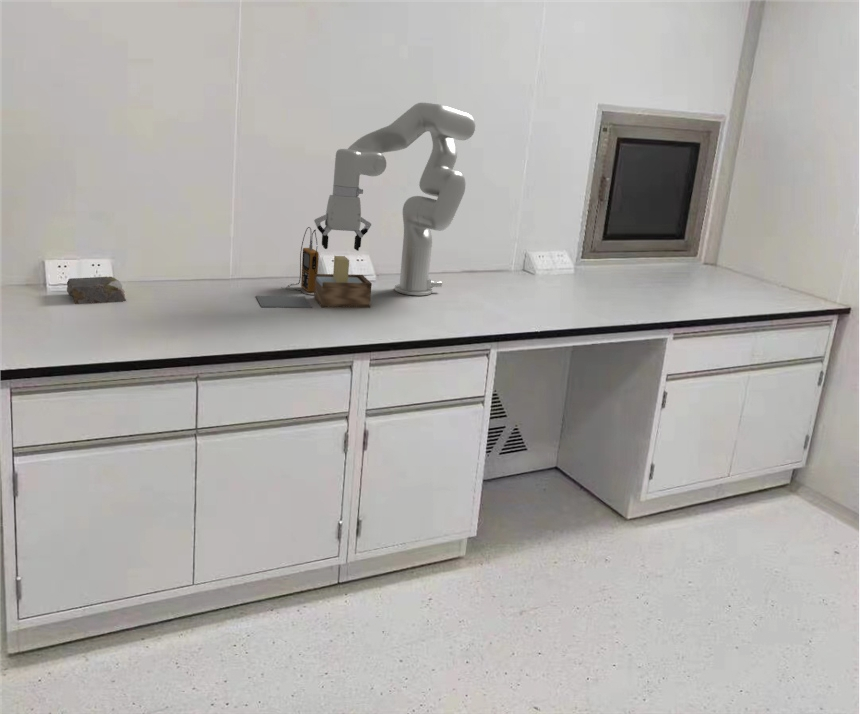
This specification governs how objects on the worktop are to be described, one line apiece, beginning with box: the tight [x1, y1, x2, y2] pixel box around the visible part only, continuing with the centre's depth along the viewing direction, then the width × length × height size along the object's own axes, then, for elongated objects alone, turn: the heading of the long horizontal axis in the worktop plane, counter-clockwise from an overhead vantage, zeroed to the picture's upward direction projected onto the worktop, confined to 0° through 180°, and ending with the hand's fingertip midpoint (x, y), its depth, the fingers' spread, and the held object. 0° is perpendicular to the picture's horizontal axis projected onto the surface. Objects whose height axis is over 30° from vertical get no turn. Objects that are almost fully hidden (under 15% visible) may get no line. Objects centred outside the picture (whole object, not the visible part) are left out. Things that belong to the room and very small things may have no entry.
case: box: [313, 273, 373, 309], centre depth 265 cm, size 15×11×8 cm
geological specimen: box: [66, 276, 127, 305], centre depth 244 cm, size 11×6×15 cm
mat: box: [255, 295, 313, 309], centre depth 260 cm, size 15×12×1 cm
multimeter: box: [280, 226, 320, 296], centre depth 273 cm, size 15×10×20 cm
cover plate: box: [316, 255, 363, 286], centre depth 263 cm, size 13×9×8 cm
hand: (340, 248), depth 260 cm, fingers open, 9 cm apart
